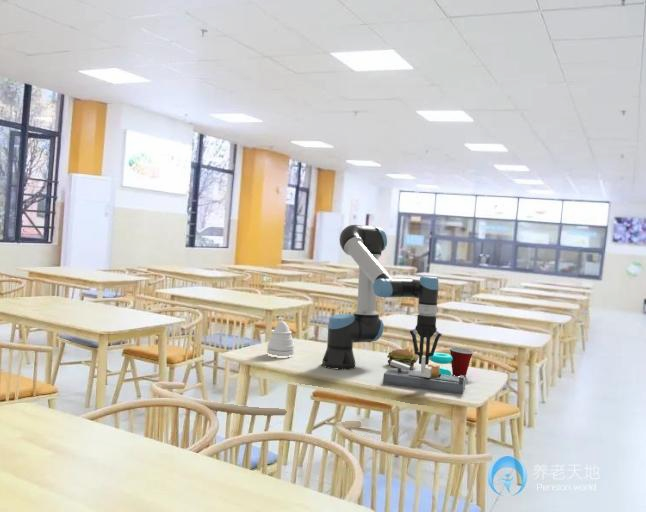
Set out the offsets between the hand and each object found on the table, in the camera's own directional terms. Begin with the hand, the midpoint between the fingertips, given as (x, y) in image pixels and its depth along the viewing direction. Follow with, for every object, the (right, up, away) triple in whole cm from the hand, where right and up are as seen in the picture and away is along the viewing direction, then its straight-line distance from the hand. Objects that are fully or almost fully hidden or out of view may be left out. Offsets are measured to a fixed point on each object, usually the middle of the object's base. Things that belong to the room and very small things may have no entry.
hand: (423, 372), depth 244 cm
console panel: (+1, -6, +4) cm, 7 cm away
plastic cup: (+21, -7, +26) cm, 34 cm away
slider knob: (+2, -2, 0) cm, 2 cm away
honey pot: (-61, -1, +45) cm, 76 cm away
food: (-4, -5, +38) cm, 38 cm away
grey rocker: (-8, +1, +10) cm, 12 cm away
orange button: (+5, -3, +5) cm, 8 cm away
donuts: (+11, -6, +21) cm, 24 cm away
